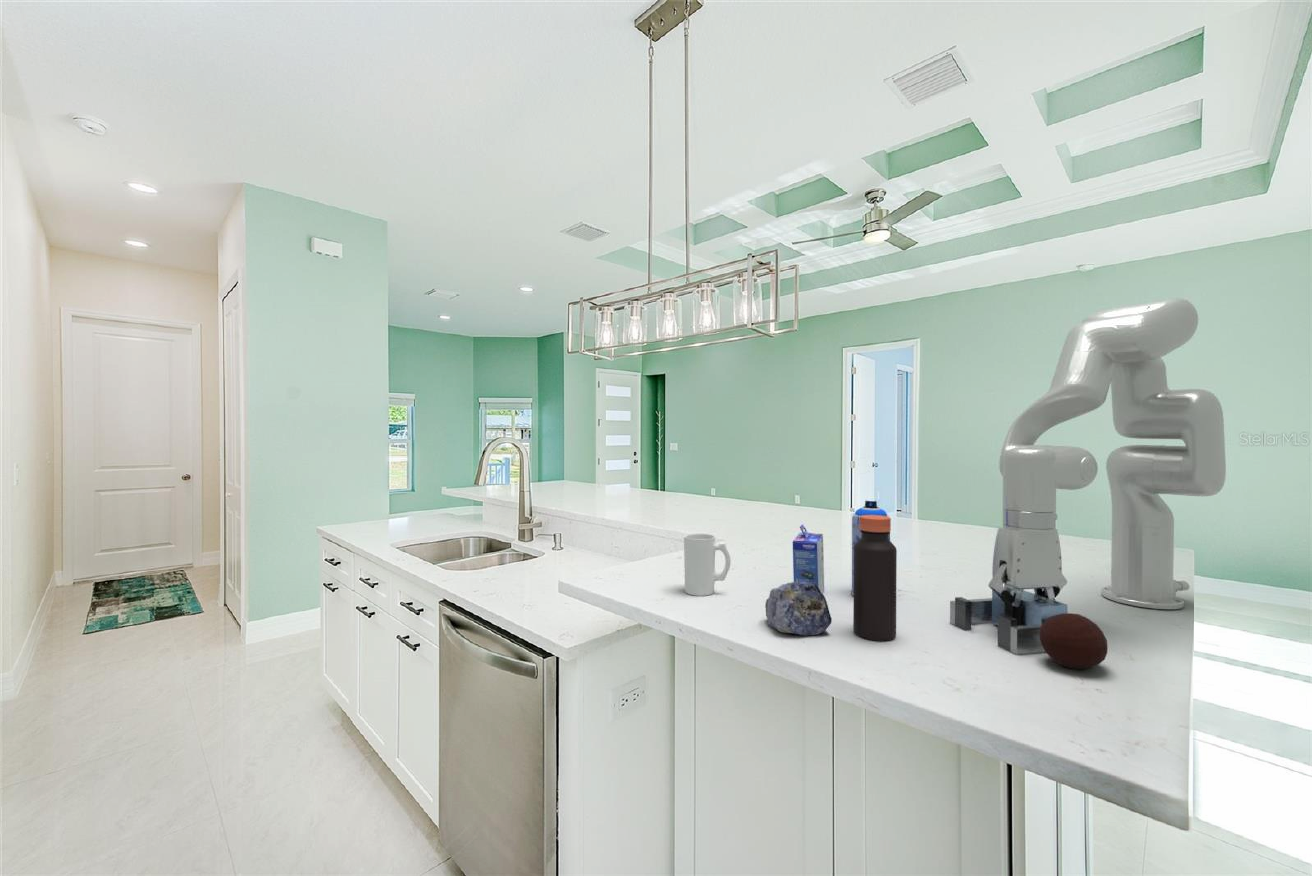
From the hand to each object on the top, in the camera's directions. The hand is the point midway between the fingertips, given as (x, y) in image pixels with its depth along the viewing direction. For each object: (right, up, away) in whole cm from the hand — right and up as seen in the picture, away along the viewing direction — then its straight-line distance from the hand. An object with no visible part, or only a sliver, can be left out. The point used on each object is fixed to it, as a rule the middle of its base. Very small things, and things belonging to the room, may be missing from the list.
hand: (1027, 625), depth 94 cm
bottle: (-26, -2, 0) cm, 26 cm away
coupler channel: (-2, -1, 0) cm, 2 cm away
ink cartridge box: (-31, -1, +23) cm, 39 cm away
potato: (-2, -2, -13) cm, 13 cm away
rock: (-39, -2, +3) cm, 39 cm away
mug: (-53, -1, +24) cm, 58 cm away
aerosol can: (-18, -1, +22) cm, 29 cm away
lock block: (0, -1, 0) cm, 1 cm away
